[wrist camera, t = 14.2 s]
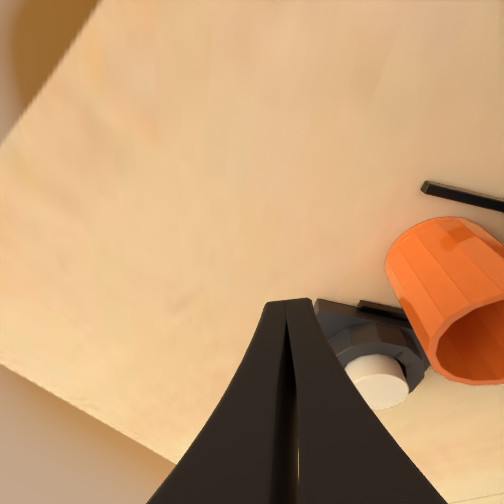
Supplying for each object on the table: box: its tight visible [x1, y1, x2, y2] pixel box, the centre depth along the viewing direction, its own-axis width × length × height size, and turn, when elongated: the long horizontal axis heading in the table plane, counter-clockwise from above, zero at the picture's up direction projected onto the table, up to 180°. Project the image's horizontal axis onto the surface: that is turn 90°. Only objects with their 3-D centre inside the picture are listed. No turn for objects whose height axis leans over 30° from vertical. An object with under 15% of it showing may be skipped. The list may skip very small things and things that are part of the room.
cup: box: [385, 217, 504, 386], centre depth 17 cm, size 6×6×7 cm
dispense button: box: [344, 354, 409, 410], centre depth 21 cm, size 4×4×2 cm
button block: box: [314, 299, 431, 394], centre depth 23 cm, size 10×7×3 cm
